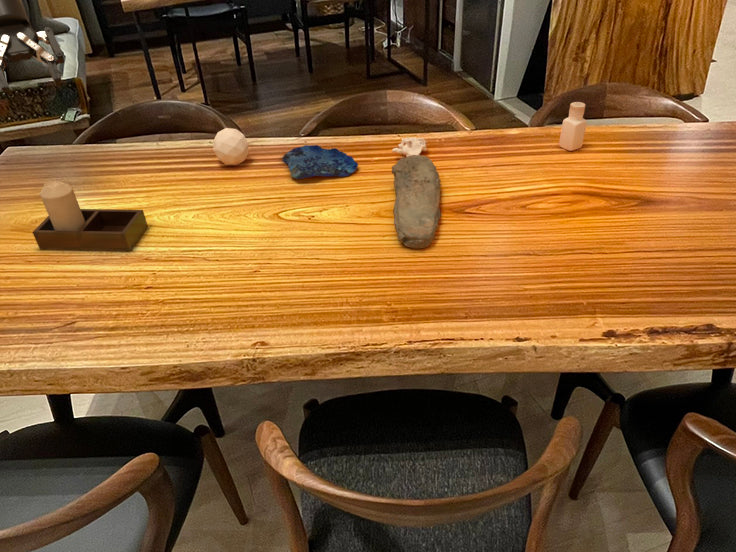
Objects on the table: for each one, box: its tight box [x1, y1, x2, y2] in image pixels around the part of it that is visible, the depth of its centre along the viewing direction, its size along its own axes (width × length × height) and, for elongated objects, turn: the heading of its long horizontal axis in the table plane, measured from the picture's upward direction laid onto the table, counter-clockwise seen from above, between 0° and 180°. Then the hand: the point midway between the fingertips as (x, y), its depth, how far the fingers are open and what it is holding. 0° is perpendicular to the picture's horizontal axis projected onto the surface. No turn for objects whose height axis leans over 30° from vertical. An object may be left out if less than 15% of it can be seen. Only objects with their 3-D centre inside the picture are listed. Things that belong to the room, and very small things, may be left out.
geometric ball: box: [212, 127, 249, 166], centre depth 138 cm, size 8×8×8 cm
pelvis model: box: [391, 136, 428, 158], centre depth 140 cm, size 8×4×7 cm
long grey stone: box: [391, 154, 442, 249], centre depth 122 cm, size 35×5×10 cm
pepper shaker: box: [558, 101, 588, 152], centre depth 138 cm, size 4×4×10 cm
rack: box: [32, 208, 149, 252], centre depth 116 cm, size 17×9×4 cm, turn 85°
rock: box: [282, 144, 359, 180], centre depth 138 cm, size 15×17×2 cm
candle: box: [39, 180, 85, 231], centre depth 114 cm, size 6×6×10 cm
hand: (33, 88), depth 116 cm, fingers open, 8 cm apart
